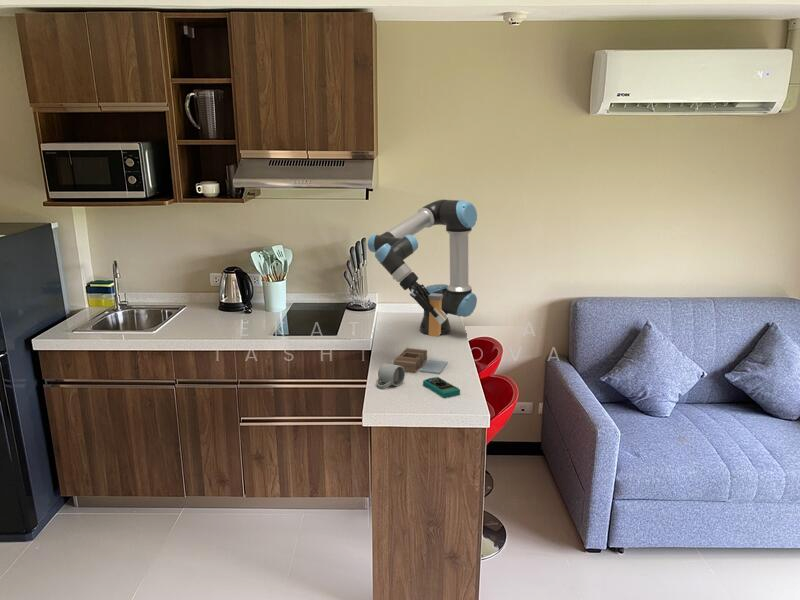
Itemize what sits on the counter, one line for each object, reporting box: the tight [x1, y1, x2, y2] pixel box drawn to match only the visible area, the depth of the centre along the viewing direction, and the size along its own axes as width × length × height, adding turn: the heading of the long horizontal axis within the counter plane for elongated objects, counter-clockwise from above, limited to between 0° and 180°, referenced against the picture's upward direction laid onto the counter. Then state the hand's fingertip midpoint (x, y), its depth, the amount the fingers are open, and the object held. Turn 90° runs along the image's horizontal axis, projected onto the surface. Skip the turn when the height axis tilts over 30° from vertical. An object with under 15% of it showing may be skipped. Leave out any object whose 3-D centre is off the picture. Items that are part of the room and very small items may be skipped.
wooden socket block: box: [393, 347, 428, 374], centre depth 248 cm, size 18×9×4 cm, turn 163°
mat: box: [419, 359, 449, 375], centre depth 245 cm, size 14×8×1 cm, turn 162°
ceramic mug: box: [376, 363, 406, 389], centre depth 225 cm, size 11×8×8 cm
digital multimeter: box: [422, 376, 461, 399], centre depth 222 cm, size 7×15×3 cm, turn 31°
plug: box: [428, 293, 443, 338], centre depth 240 cm, size 5×5×17 cm
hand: (444, 320), depth 239 cm, fingers closed on plug, 4 cm apart
